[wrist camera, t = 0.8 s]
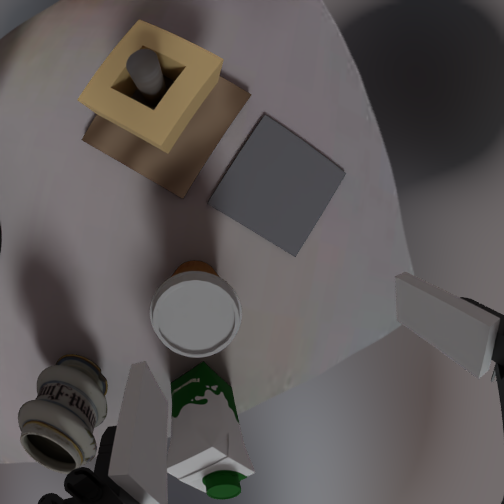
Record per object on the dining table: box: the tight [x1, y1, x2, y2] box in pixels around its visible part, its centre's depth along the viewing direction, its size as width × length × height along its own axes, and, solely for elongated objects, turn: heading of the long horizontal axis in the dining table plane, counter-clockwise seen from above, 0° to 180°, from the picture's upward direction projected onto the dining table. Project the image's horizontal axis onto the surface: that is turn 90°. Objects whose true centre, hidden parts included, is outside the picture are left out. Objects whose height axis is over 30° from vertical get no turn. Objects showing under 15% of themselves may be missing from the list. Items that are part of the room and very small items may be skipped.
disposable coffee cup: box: [150, 261, 242, 358], centre depth 34 cm, size 10×10×12 cm
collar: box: [78, 19, 224, 154], centre depth 23 cm, size 9×9×6 cm
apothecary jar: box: [18, 354, 108, 474], centre depth 31 cm, size 12×12×18 cm
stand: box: [82, 49, 251, 199], centre depth 26 cm, size 16×16×18 cm
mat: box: [207, 115, 346, 257], centre depth 39 cm, size 14×14×1 cm
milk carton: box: [167, 362, 255, 499], centre depth 34 cm, size 9×9×20 cm
